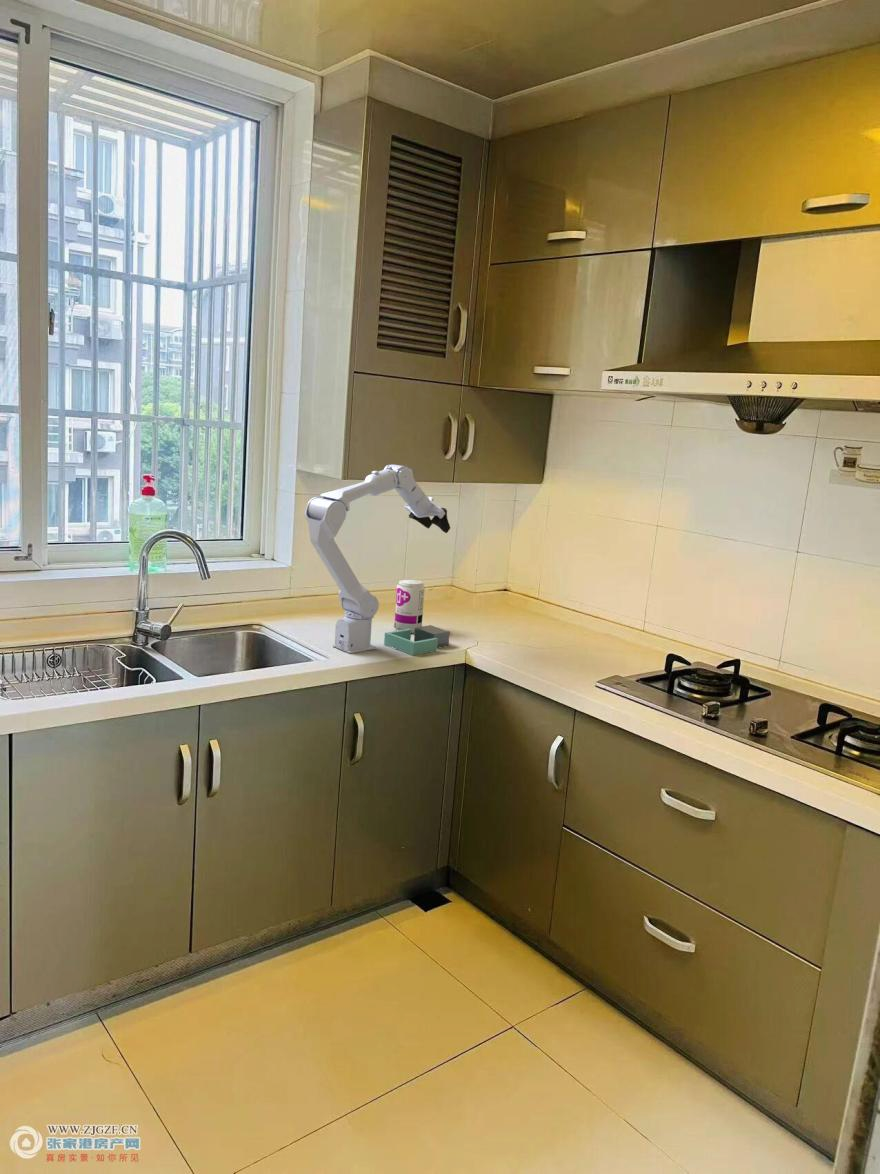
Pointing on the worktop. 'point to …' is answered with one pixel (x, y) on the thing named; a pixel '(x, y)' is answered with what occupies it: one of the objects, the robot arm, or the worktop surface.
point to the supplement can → (409, 604)
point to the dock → (409, 642)
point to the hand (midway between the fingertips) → (438, 528)
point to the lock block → (432, 635)
